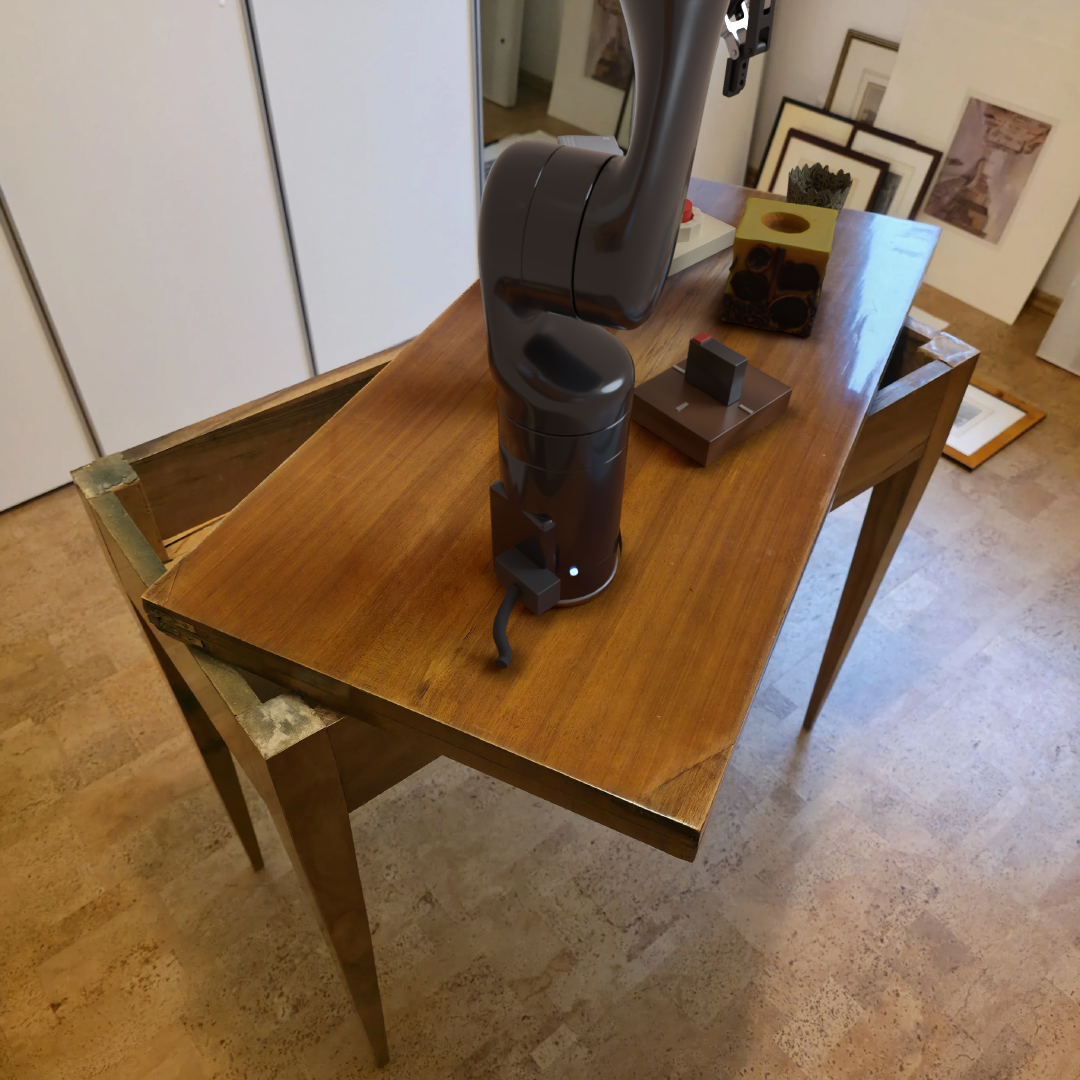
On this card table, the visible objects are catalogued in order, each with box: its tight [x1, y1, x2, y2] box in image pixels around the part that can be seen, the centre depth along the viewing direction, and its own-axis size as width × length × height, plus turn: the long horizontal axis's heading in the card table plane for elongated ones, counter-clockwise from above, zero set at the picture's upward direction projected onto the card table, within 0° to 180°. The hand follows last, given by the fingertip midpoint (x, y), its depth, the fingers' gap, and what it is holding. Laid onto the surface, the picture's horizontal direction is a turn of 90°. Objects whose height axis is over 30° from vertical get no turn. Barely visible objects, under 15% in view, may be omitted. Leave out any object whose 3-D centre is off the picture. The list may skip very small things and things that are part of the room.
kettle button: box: [681, 198, 694, 223], centre depth 105 cm, size 4×4×2 cm
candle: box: [718, 196, 838, 338], centre depth 95 cm, size 10×10×10 cm
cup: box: [785, 161, 854, 222], centre depth 106 cm, size 8×7×8 cm
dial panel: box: [631, 357, 793, 468], centre depth 84 cm, size 12×10×3 cm
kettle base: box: [668, 205, 737, 278], centre depth 107 cm, size 12×10×4 cm
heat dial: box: [684, 331, 749, 406], centre depth 81 cm, size 6×2×5 cm, turn 41°
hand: (700, 82), depth 93 cm, fingers open, 8 cm apart
